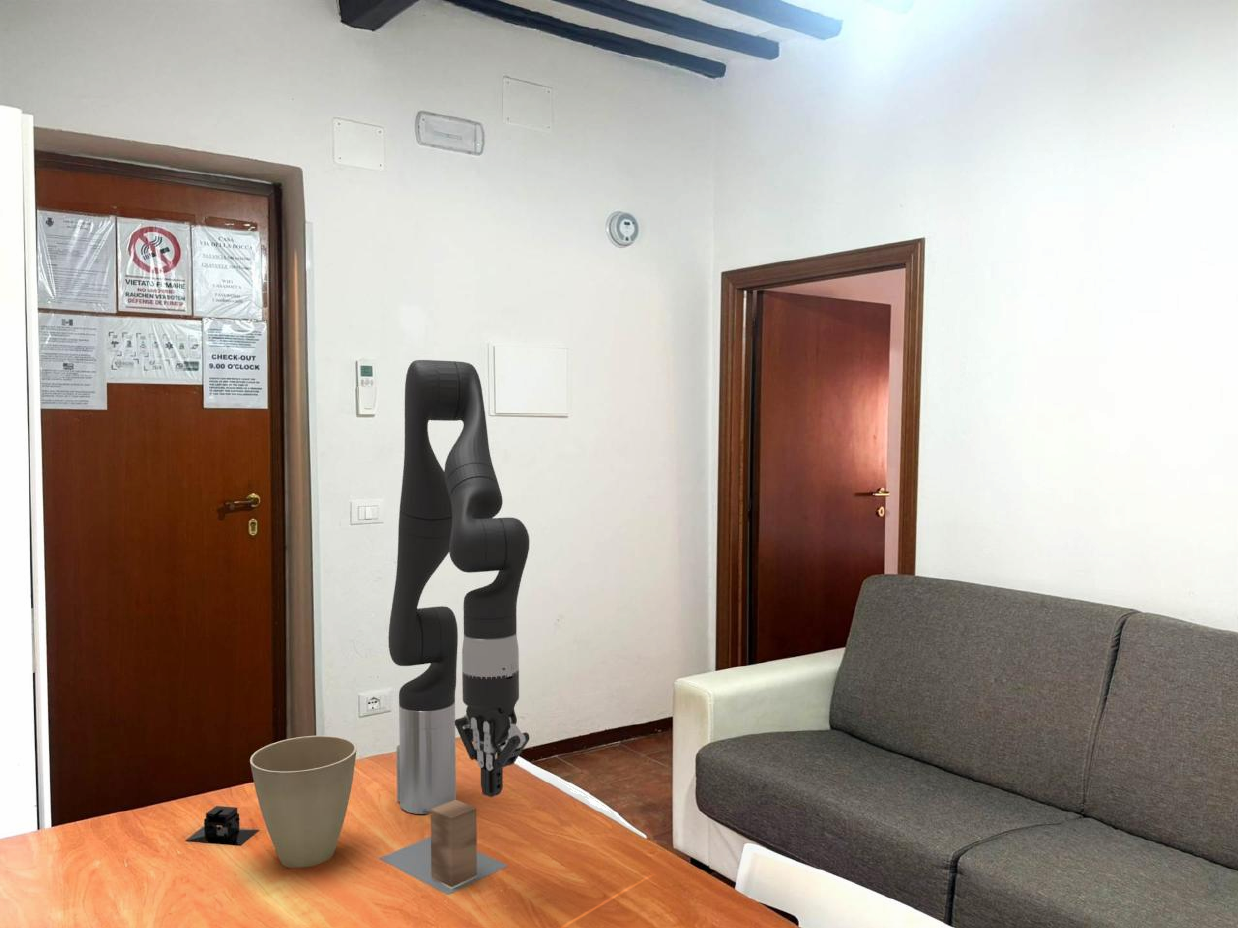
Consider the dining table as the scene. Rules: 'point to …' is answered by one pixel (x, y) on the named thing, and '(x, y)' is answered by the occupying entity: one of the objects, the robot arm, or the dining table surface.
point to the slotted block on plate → (222, 828)
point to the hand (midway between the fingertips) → (491, 794)
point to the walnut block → (453, 844)
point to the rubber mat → (419, 864)
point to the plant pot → (304, 795)
